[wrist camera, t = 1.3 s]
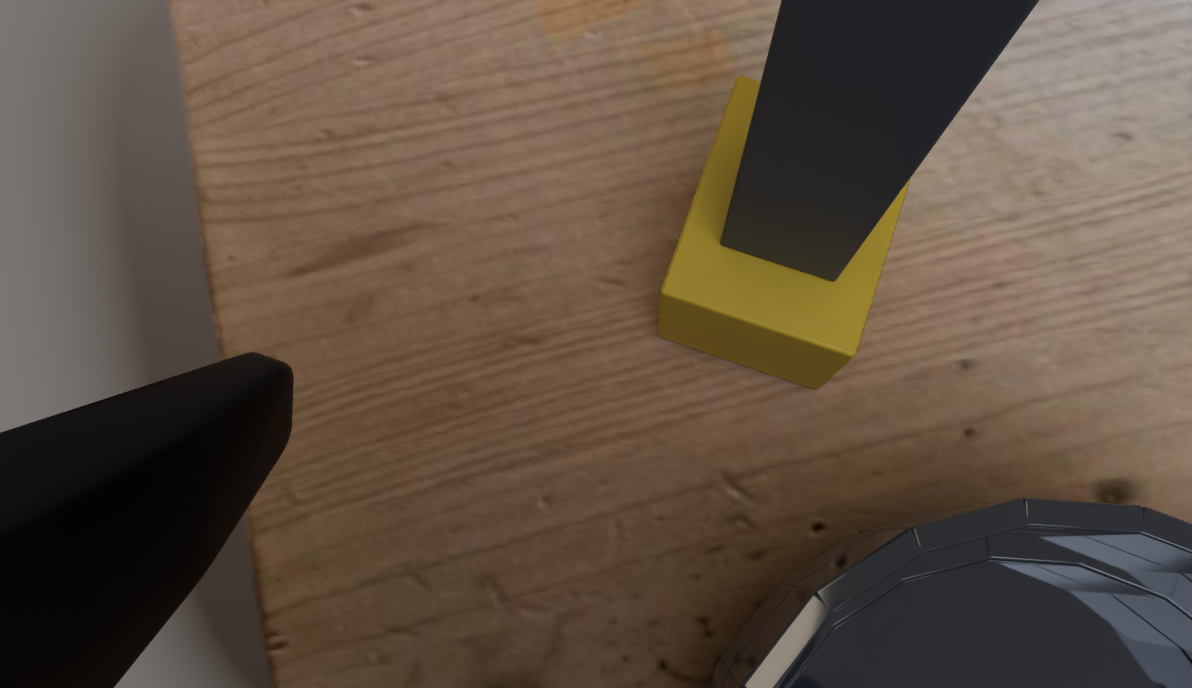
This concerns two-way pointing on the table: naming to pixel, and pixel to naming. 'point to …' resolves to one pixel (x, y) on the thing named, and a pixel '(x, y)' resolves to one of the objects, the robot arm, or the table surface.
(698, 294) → the sponge wand
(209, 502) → the robot arm
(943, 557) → the bowl
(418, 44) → the table surface
